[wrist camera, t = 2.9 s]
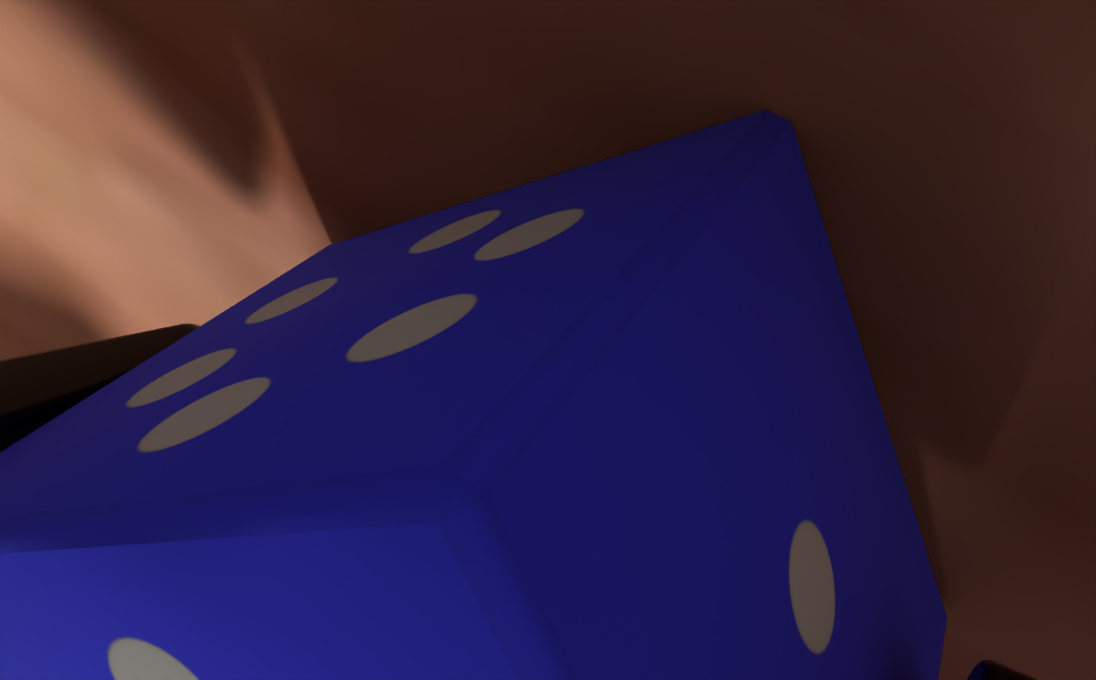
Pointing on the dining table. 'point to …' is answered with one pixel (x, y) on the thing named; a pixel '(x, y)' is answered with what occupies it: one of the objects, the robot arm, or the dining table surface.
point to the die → (496, 456)
